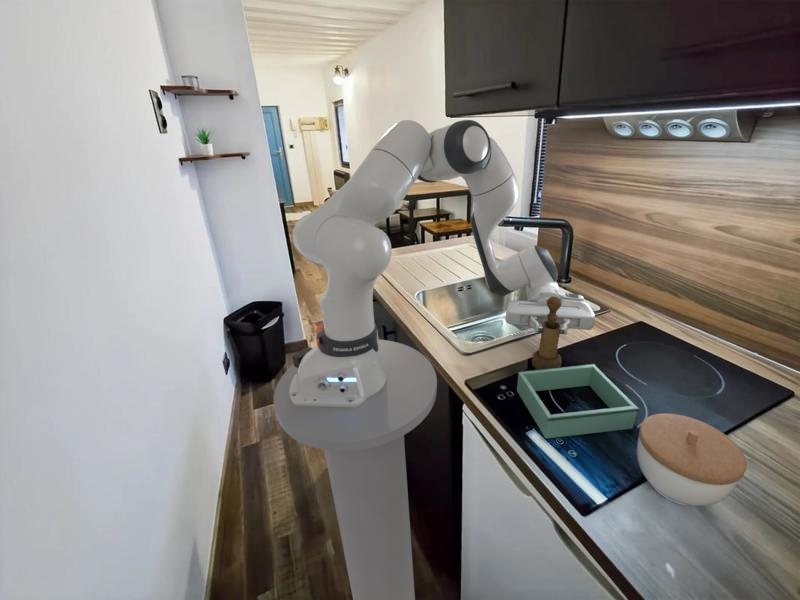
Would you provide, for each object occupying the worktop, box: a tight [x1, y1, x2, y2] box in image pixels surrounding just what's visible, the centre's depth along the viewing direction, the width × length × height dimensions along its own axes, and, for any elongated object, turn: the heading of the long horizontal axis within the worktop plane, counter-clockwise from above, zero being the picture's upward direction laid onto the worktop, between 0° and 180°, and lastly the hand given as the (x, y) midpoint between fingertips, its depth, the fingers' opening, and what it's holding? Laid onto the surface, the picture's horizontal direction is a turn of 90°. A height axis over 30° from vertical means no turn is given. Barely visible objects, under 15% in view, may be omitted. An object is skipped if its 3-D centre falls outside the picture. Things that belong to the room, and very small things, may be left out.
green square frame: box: [516, 363, 640, 439], centre depth 73 cm, size 17×14×5 cm
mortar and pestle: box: [531, 296, 563, 370], centre depth 84 cm, size 7×6×18 cm
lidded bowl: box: [636, 412, 748, 507], centre depth 55 cm, size 13×13×11 cm
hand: (551, 330), depth 83 cm, fingers closed on mortar and pestle, 4 cm apart
